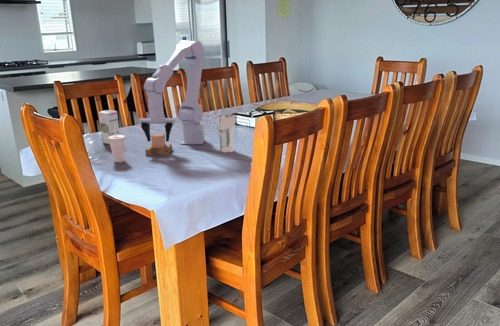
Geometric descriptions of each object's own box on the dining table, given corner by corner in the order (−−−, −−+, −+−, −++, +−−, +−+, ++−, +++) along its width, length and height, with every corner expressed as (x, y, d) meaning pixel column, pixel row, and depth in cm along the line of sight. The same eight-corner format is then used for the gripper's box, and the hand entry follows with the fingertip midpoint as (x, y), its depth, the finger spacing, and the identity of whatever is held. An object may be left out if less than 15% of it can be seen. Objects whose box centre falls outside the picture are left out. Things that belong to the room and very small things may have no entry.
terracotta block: (165, 145, 180) (164, 133, 178) (163, 148, 176) (162, 136, 174) (154, 145, 180) (154, 133, 179) (152, 147, 176) (151, 136, 174)
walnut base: (172, 149, 183) (171, 143, 182) (167, 155, 174) (167, 149, 173) (151, 149, 183) (150, 143, 182) (145, 155, 174) (145, 149, 174)
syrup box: (120, 142, 194) (117, 110, 190) (110, 145, 190) (106, 112, 185) (112, 140, 197) (109, 109, 193) (101, 143, 193) (98, 111, 188)
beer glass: (220, 154, 176) (219, 117, 171) (217, 149, 182) (215, 114, 178) (236, 152, 178) (236, 116, 173) (233, 148, 184) (232, 113, 179)
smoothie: (121, 157, 172) (117, 123, 168) (130, 160, 168) (127, 125, 164) (107, 161, 167) (103, 126, 163) (116, 164, 163) (113, 128, 159)
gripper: (135, 110, 169) (138, 143, 173) (172, 110, 169) (174, 143, 173) (140, 106, 176) (142, 139, 180) (175, 106, 176) (177, 139, 180)
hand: (158, 140), depth 177 cm, fingers open, 7 cm apart
